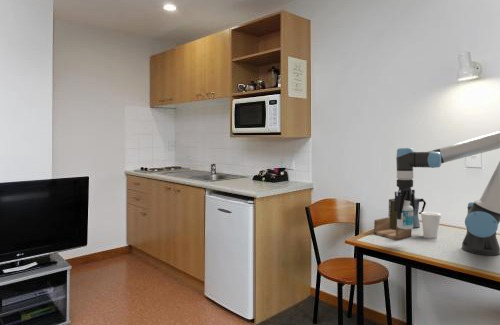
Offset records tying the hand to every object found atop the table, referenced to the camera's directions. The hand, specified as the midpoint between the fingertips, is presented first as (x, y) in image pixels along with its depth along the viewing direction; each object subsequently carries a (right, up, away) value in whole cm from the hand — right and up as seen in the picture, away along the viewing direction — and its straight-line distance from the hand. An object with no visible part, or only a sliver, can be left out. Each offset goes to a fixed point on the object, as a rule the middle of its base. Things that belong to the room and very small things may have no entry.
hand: (404, 224), depth 169 cm
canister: (+11, -9, +34) cm, 37 cm away
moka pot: (+23, -9, +39) cm, 46 cm away
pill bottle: (0, -2, 0) cm, 2 cm away
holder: (+2, -10, +19) cm, 22 cm away
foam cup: (+22, -10, +17) cm, 29 cm away
